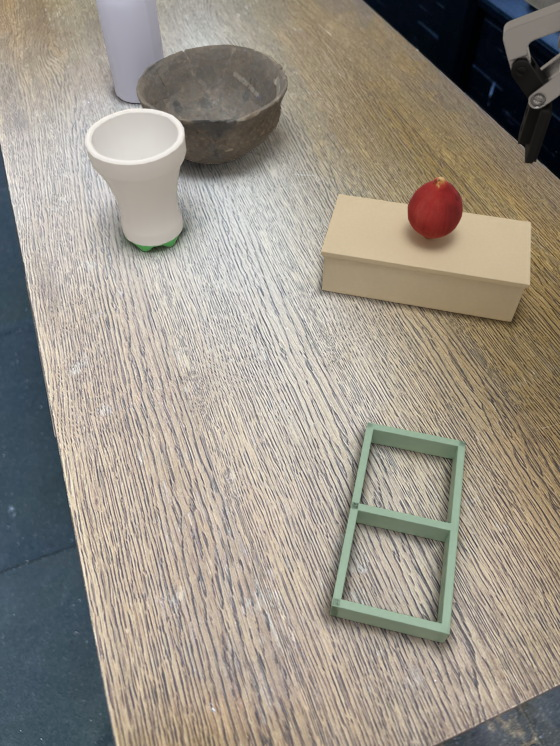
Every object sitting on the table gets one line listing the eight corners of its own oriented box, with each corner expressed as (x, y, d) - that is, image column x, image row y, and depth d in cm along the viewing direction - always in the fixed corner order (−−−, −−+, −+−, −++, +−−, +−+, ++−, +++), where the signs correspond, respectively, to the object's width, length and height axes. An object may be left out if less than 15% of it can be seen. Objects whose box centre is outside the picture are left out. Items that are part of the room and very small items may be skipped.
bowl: (197, 95, 104) (190, 31, 97) (311, 128, 98) (314, 63, 90) (118, 162, 93) (103, 96, 85) (242, 204, 87) (238, 137, 79)
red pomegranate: (426, 213, 76) (439, 153, 70) (465, 238, 73) (482, 177, 67) (392, 235, 74) (402, 175, 67) (431, 261, 71) (446, 201, 65)
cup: (147, 276, 79) (125, 176, 68) (93, 235, 84) (63, 135, 72) (216, 232, 84) (205, 132, 73) (160, 195, 88) (142, 96, 77)
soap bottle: (124, 73, 109) (90, -95, 90) (176, 80, 107) (153, -89, 88) (102, 99, 104) (61, -73, 85) (156, 107, 102) (127, -66, 83)
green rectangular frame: (460, 454, 63) (466, 441, 61) (443, 643, 52) (449, 634, 50) (364, 435, 65) (367, 421, 63) (329, 615, 54) (331, 605, 52)
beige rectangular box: (515, 262, 80) (531, 221, 75) (513, 324, 74) (530, 284, 69) (335, 234, 83) (338, 193, 78) (318, 291, 77) (321, 251, 72)
